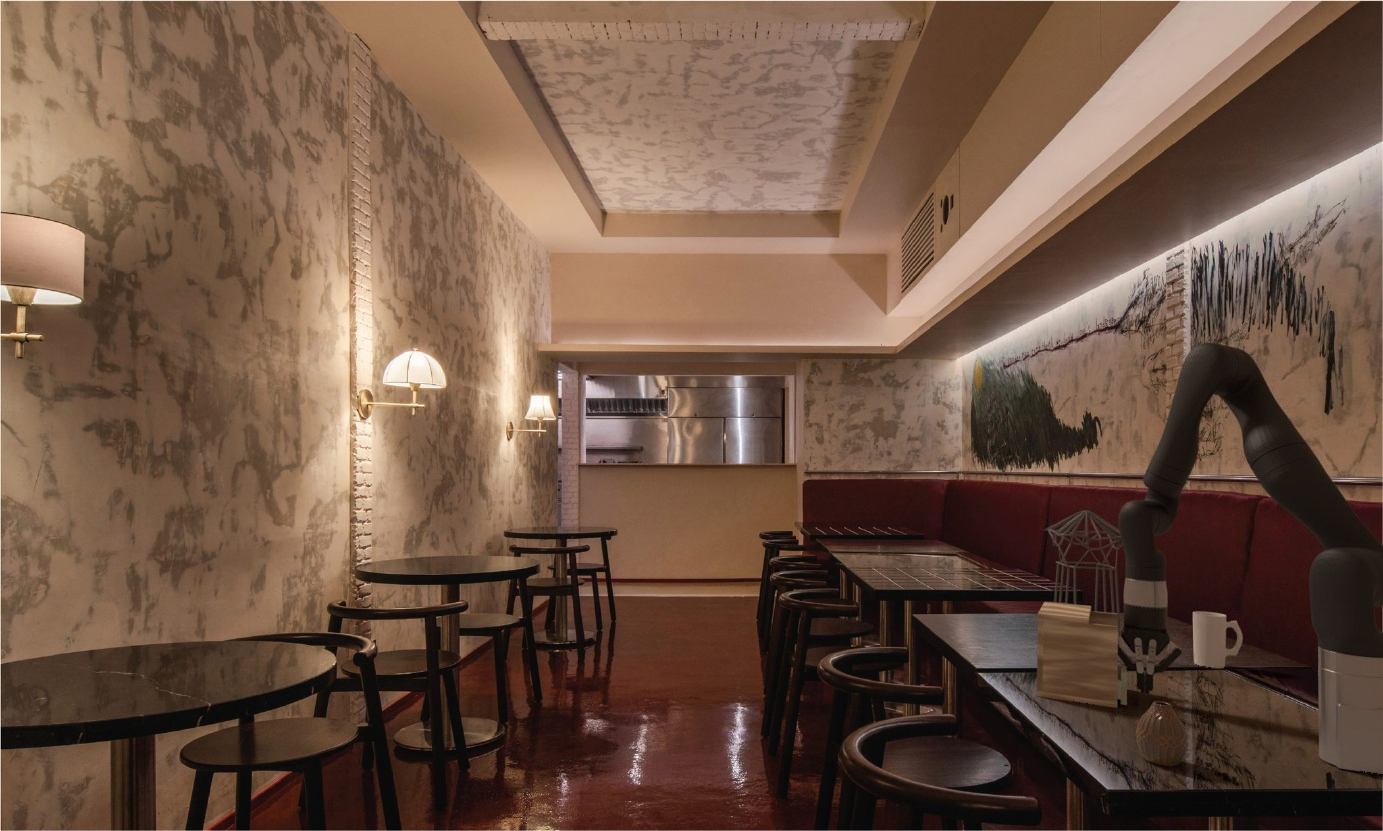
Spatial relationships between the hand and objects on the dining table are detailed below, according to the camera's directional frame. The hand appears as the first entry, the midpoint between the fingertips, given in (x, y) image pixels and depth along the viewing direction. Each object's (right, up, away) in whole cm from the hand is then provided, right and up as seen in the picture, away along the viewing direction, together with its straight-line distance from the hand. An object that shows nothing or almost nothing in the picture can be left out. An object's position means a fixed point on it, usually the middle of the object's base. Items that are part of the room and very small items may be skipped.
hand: (1144, 692), depth 164 cm
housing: (-11, -2, +5) cm, 12 cm away
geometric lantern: (+7, -4, +40) cm, 41 cm away
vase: (-17, +1, -36) cm, 39 cm away
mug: (+35, -5, +33) cm, 49 cm away
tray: (-9, -1, +4) cm, 10 cm away
